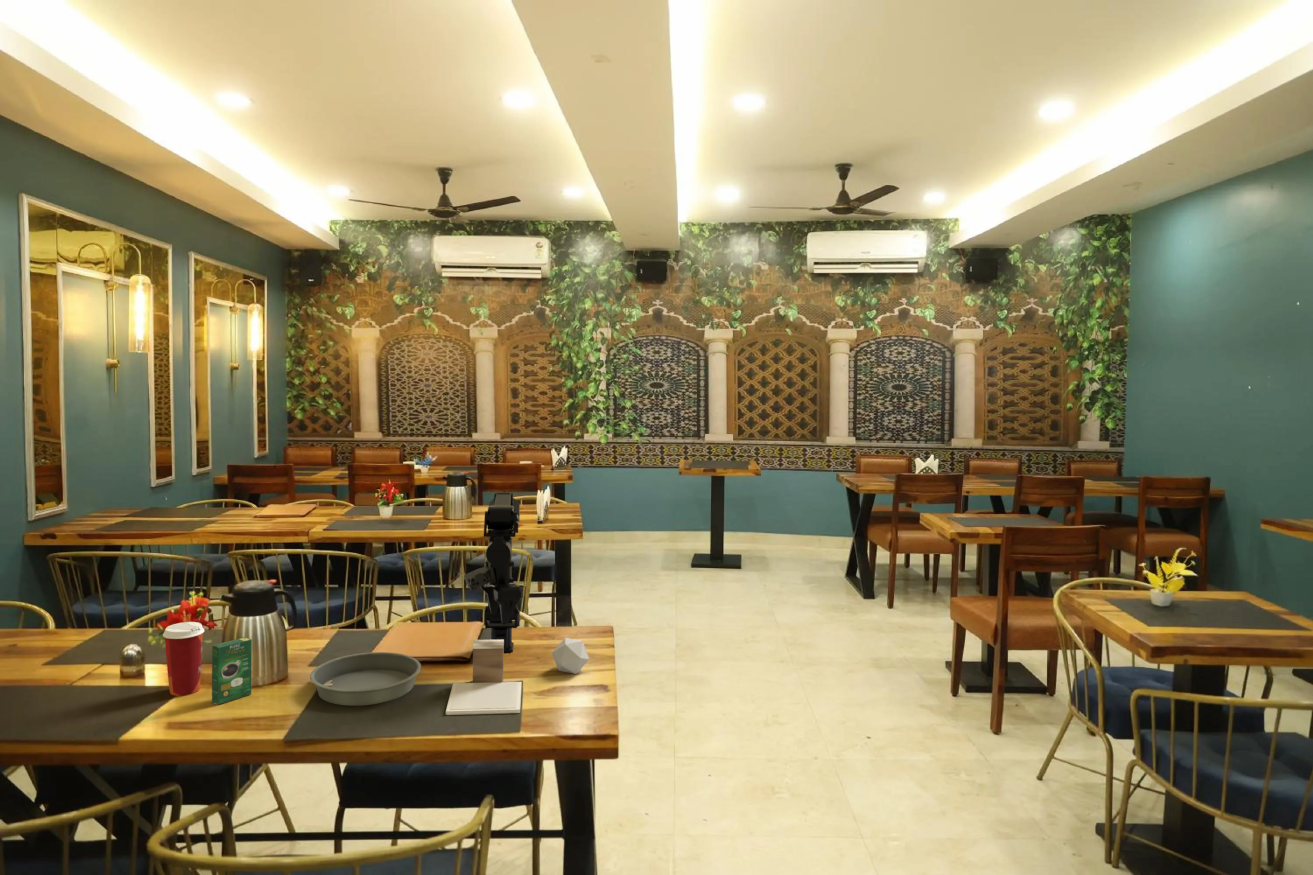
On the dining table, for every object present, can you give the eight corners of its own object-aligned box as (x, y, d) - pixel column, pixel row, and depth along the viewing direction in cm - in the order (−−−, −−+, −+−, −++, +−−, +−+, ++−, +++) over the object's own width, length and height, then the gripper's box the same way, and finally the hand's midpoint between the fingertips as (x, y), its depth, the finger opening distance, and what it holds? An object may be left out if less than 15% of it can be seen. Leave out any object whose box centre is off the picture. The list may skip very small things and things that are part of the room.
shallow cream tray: (453, 686, 198) (453, 682, 198) (521, 685, 201) (521, 681, 200) (445, 714, 182) (445, 710, 182) (519, 712, 185) (520, 708, 185)
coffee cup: (213, 687, 193) (212, 623, 192) (183, 700, 186) (181, 634, 184) (186, 681, 196) (185, 619, 195) (154, 694, 188) (153, 629, 187)
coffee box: (245, 691, 192) (245, 635, 191) (253, 693, 190) (252, 637, 189) (211, 702, 185) (210, 644, 184) (218, 705, 183) (217, 647, 182)
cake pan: (371, 661, 213) (371, 644, 213) (442, 682, 201) (443, 664, 201) (286, 693, 192) (286, 674, 192) (360, 718, 180) (360, 698, 179)
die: (594, 671, 213) (582, 635, 217) (589, 665, 205) (577, 628, 209) (563, 682, 212) (553, 646, 216) (557, 677, 205) (546, 640, 209)
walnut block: (473, 679, 203) (474, 639, 202) (503, 679, 204) (503, 639, 203) (472, 686, 199) (473, 645, 198) (502, 685, 200) (503, 644, 199)
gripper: (457, 551, 211) (457, 612, 212) (478, 567, 194) (477, 633, 195) (500, 548, 216) (499, 608, 217) (524, 563, 199) (522, 628, 201)
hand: (498, 619), depth 207 cm, fingers open, 9 cm apart
